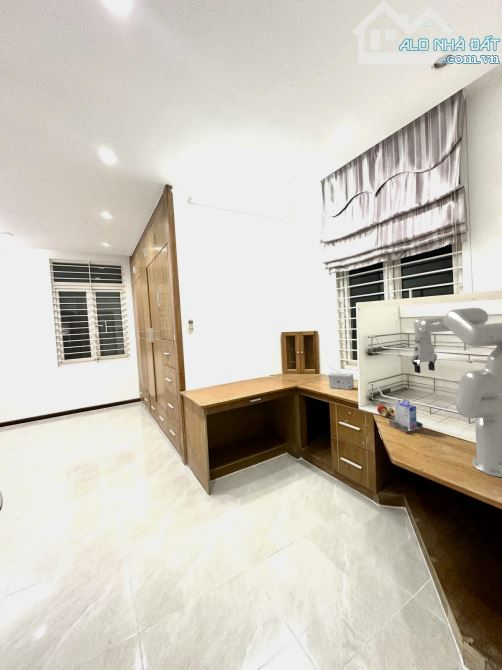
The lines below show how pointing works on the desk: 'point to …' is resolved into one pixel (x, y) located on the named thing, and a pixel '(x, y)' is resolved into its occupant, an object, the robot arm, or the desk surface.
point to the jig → (405, 427)
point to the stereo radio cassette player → (341, 380)
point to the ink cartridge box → (406, 414)
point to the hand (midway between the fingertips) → (424, 371)
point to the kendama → (385, 410)
